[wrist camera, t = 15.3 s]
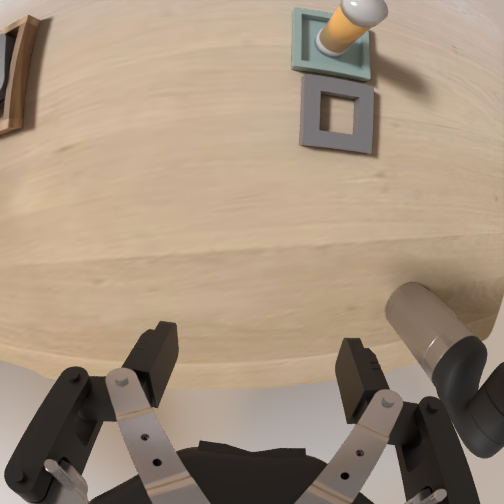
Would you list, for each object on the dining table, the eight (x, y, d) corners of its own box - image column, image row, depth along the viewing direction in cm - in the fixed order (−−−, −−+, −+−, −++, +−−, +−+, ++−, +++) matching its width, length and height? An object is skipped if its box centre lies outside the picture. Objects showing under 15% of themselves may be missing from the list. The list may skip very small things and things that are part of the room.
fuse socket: (367, 88, 33) (373, 86, 31) (365, 153, 37) (371, 153, 35) (301, 77, 33) (304, 73, 31) (299, 145, 36) (302, 144, 34)
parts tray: (362, 27, 30) (367, 22, 28) (364, 82, 33) (370, 79, 31) (292, 13, 29) (294, 7, 27) (291, 69, 32) (293, 65, 31)
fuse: (344, 34, 30) (385, -6, 17) (345, 60, 31) (389, 26, 18) (314, 28, 30) (344, -18, 16) (314, 55, 31) (347, 14, 18)
